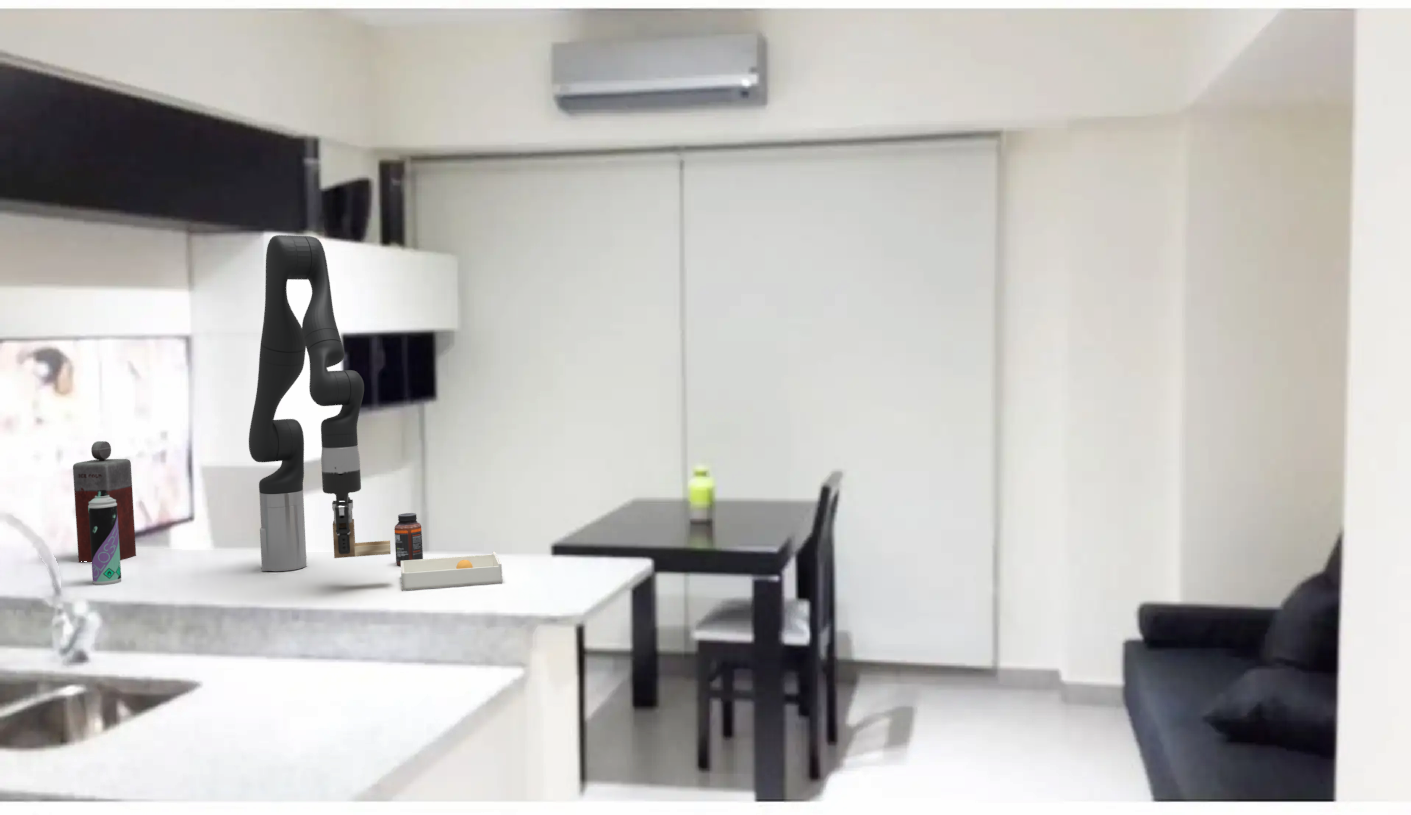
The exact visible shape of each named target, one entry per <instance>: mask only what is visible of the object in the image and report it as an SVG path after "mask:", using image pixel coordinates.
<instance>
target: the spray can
mask: <svg viewBox="0 0 1411 815" xmlns="http://www.w3.org/2000/svg"><path fill="white" fill-rule="evenodd" d="M88 511H89V527H90V544H91V560H92V563H91V571H92V572H91V573H92V574H91V575H92V584H93V585H94V584H95V585H94V586H104V585H105V586H106V585H113V584H118V583H121V582H122V568H121V560H120V549H119V532H118V514H117V503H116V500H115V499H113V498H111V497H109V495H108V494H107V492H106V490H97V494H96V496H95V498H94V499H92V500H91V501H89V505H88Z"/></svg>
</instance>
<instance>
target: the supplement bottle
mask: <svg viewBox="0 0 1411 815" xmlns="http://www.w3.org/2000/svg"><path fill="white" fill-rule="evenodd" d="M417 519H418V518H417V513H416V512H415V513H414V512H406V513H400V514H398V515H397V521H398V522H397V523H396V524H395V525H394V529H393V530H394V544H395V545H394V546H395V548H394V549H395V563H396V565H397V566H400V567H401V561H404V560H419V559H424V550H423V549H424V548H423V535H422V534H423V533H422V525H421V523H420V522H418V521H417Z"/></svg>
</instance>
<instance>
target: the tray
mask: <svg viewBox="0 0 1411 815" xmlns="http://www.w3.org/2000/svg"><path fill="white" fill-rule="evenodd" d="M461 560H468V561H470V562H471V563H472V566H473V568H464V569H456V567H457V564H458V563H459V562H460V561H461ZM502 570H503V569H502V562H501V560H500V558H499V556H498V554H497V552H496V551H492V553H490V554H479V555H475V554H474V555H461V556H452V557H451V556H450V557H449V556H447V557H437V558H436V557H435V558H434V557H433V558H423V559H419V560H404V561H401V566H400V575H401V576H400V578H401V591H402V592H404V591H403V590H406V591H412V590H411V589H419V590H426V589H425V588H432V589H443V588H455V587H456V588H457V587H468V586H469V587H471V586H481V585H483V586H484V585H493V584H494V585H495V584H503V571H502Z"/></svg>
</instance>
